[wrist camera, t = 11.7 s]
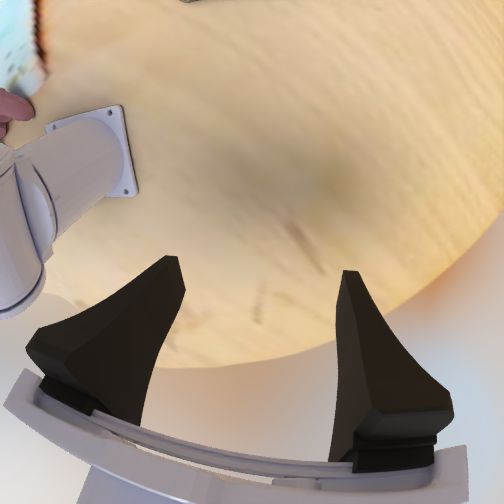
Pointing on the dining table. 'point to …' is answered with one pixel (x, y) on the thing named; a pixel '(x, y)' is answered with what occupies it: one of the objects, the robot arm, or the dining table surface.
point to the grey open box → (188, 1)
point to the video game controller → (13, 109)
